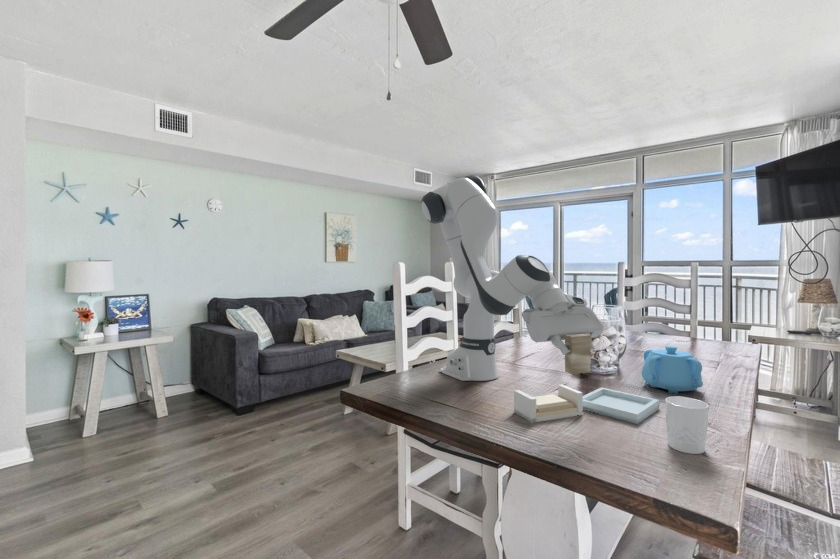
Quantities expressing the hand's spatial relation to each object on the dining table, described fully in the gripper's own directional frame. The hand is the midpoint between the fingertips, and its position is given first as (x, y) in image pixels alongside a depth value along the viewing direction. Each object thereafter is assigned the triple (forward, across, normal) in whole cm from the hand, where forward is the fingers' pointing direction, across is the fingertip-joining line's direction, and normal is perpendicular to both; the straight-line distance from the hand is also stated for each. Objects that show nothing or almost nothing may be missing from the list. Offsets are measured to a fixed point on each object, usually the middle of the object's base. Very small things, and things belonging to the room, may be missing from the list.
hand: (579, 352), depth 97 cm
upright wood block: (+3, 0, +4) cm, 5 cm away
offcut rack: (+5, 0, +22) cm, 22 cm away
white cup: (+25, +15, +2) cm, 29 cm away
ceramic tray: (+8, +20, +19) cm, 29 cm away
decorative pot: (+2, +51, +26) cm, 57 cm away
